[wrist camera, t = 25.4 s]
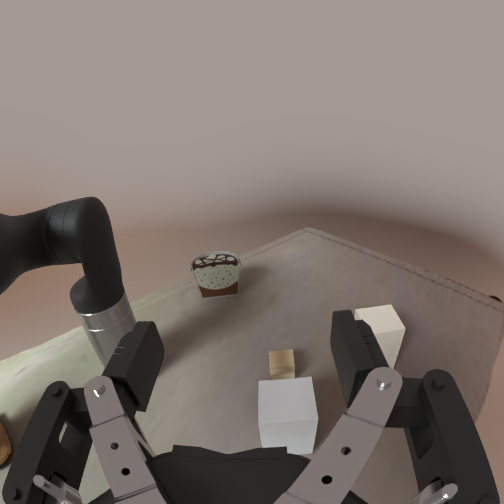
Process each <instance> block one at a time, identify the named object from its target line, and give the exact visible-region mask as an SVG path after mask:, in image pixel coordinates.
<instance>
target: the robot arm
mask: <svg viewBox="0 0 504 504" xmlns="http://www.w3.org/2000/svg"><path fill="white" fill-rule="evenodd" d="M74 263H82V266H83V270H84V274H85V276H84V277H82V278H81V279H79V280H78V281H77V282H76V283H75V284H74V285H73V287H72V288H71V290H70V298H71V301H72V304H73V306H74V309H75V311H76V313H77V315H78V317H79V320H80V322H81V324H82V326H83V328H84V330H85V332H86V334H87V336H88V338H89V340H90V342H91V344H92V346H93V348H94V350H95V352H96V354H97V355H98V357H99V359H100V361H101V363H102V364H103V366H104V368H105V370H104V372H103V374H102V376H97V377H94V378H92V379H91V380H90V381H88V382H87V384H86V385H85V387H84V388H76V389H70V388H69V386H68V385H67V383H65V382H63V381H56V382H54V383H52V384H50V385H49V386H48V387H47V388H46V390H45V392H44V394H43V396H42V398H41V400H40V402H39V403H38V405H37V407H36V409H35V412H34V414H33V416H32V418H31V420H30V422H29V424H28V426H27V428H26V431H25V433H24V435H23V437H22V440H21V442H20V444H19V447H18V449H17V451H16V454H15V456H14V459H13V461H12V464H11V466H10V469H9V472H8V475H7V477H6V480H5V483H4V486H3V490H2V495H3V499H4V502H5V503H6V504H83V503H82V502H81V496H80V494H79V492H78V490H79V487H80V483H81V479H82V476H83V472H84V468H85V465H86V462H87V458H88V455H89V452H90V448H91V445H92V442H93V443H94V446H95V449H96V452H97V455H98V458H99V461H100V463H101V466H102V469H103V471H104V474H105V476H106V479H107V481H108V483H109V486H110V489H109V490H107V491H106V492H104V493H103V494H102V495H100V496H99V497H97V498H96V499H94V500H93V501H91V502H90V503H88V504H368V503H367V502H365V501H364V500H363V499H361V498H360V497H359V496H357V495H356V494H355V493H353V492H352V491H351V490H350V489H351V487H352V485H353V484H354V482H355V481H356V479H357V477H358V476H359V474H360V472H361V471H362V469H363V467H364V465H365V464H366V462H367V460H368V458H369V456H370V455H371V453H372V451H373V449H374V447H375V445H376V443H377V441H378V439H379V437H380V435H381V433H382V431H383V429H384V427H394V428H404V431H405V435H406V438H407V442H408V446H409V450H410V454H411V458H412V462H413V466H414V471H415V475H416V480H417V484H418V489H419V493H418V494H417V495H415V496H414V497H413V498H412V500H411V501H410V503H409V504H500V500H499V495H498V491H497V488H496V484H495V481H494V477H493V474H492V471H491V468H490V465H489V462H488V459H487V456H486V453H485V450H484V448H483V445H482V442H481V440H480V437H479V435H478V432H477V430H476V427H475V425H474V422H473V420H472V418H471V415H470V413H469V411H468V408H467V406H466V404H465V402H464V400H463V398H462V395H461V393H460V391H459V389H458V387H457V385H456V383H455V381H454V379H453V377H452V376H451V375H450V374H449V373H448V372H446V371H444V370H440V369H434V370H431V371H429V372H427V373H426V374H425V376H424V377H423V379H417V378H404V377H401V375H400V374H399V373H398V372H397V371H396V370H394V369H392V368H390V367H389V365H388V363H387V361H386V359H385V356H384V354H383V352H382V350H381V348H380V345H379V343H377V339H376V337H375V336H374V333H373V331H372V329H371V326H370V325H368V324H367V323H366V322H365V321H364V320H363V319H361V320H355V318H354V316H353V314H352V312H351V310H342V311H334V312H333V316H332V328H331V350H332V354H333V357H334V361H335V365H336V368H337V372H338V376H339V379H340V383H341V387H342V391H343V395H344V399H345V402H346V406H347V408H349V407H350V408H349V410H348V411H347V413H344V414H343V415H342V416H341V418H340V419H339V421H338V422H337V424H336V426H335V427H334V429H333V430H332V432H331V433H330V435H329V436H328V438H327V439H326V440H325V442H324V443H323V445H322V446H321V448H320V449H319V450H318V452H317V453H316V455H315V456H314V457H313V459H312V460H310V459H308V458H306V457H303V456H300V455H296V454H291V453H287V446H285V447H269V448H256V449H251V450H247V451H243V452H238V453H233V454H224V453H220V452H216V451H212V450H208V449H205V448H201V447H193V446H181V445H173V450H172V452H168V453H163V454H160V455H157V456H156V454H155V453H154V452H153V450H152V448H151V447H150V445H149V443H148V441H147V439H146V437H145V435H144V433H143V431H142V429H141V427H140V425H139V423H138V421H137V419H136V418H135V413H136V411H142V412H146V409H147V406H148V403H149V399H150V396H151V393H152V390H153V387H154V384H155V381H156V378H157V376H158V373H159V370H160V367H161V364H162V361H163V358H164V347H163V344H162V341H161V339H160V336H159V333H158V330H157V327H156V325H155V323H154V322H153V321H138V322H137V323H136V320H135V317H134V315H133V312H132V309H131V307H130V304H129V302H128V299H127V295H126V293H125V290H124V287H123V283H122V275H121V267H120V263H119V259H118V255H117V251H116V246H115V242H114V237H113V232H112V227H111V222H110V219H109V215H108V213H107V210H106V208H105V206H104V205H103V203H102V202H101V201H100V200H99V199H98V198H95V197H85V198H80V199H76V200H72V201H68V202H63V203H60V204H56V205H53V206H51V207H48V208H46V209H42V210H39V211H35V212H32V213H28V214H25V215H19V216H8V215H3V214H0V295H1V294H2V293H3V292H4V291H5V290H6V289H7V288H8V287H9V286H10V285H11V284H12V283H13V282H14V281H15V279H16V278H17V277H19V276H20V275H21V274H22V273H24V272H27V271H29V270H32V269H36V268H40V267H45V266H50V265H64V264H74ZM64 423H66V424H67V427H66V430H65V432H64V435H63V437H62V440H61V443H60V442H59V435H60V433H61V430H62V428H63V425H64Z"/></svg>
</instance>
